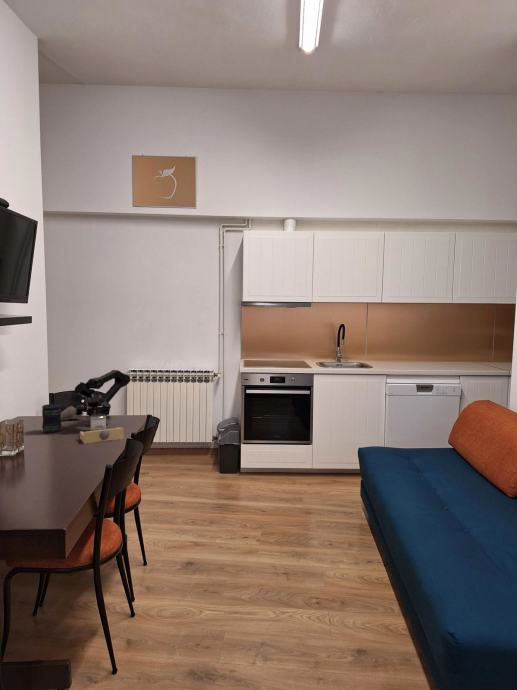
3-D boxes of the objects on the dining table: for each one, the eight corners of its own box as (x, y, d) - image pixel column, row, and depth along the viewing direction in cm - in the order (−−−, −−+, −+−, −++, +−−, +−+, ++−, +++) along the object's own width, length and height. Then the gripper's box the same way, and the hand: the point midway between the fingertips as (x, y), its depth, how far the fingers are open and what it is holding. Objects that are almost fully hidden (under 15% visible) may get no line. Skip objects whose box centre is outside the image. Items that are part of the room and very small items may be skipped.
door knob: (82, 434, 270) (82, 414, 269) (107, 431, 277) (107, 412, 276) (87, 440, 258) (87, 420, 257) (114, 437, 265) (114, 417, 264)
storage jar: (56, 434, 267) (56, 407, 266) (39, 434, 268) (38, 407, 266) (64, 429, 277) (63, 404, 276) (47, 429, 278) (46, 403, 276)
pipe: (66, 434, 298) (86, 418, 306) (63, 426, 292) (84, 411, 300) (50, 418, 304) (70, 403, 312) (47, 410, 297) (67, 395, 305)
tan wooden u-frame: (80, 438, 259) (79, 428, 259) (118, 434, 270) (118, 423, 270) (84, 444, 250) (84, 432, 250) (123, 439, 261) (123, 428, 260)
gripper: (75, 391, 269) (79, 415, 261) (109, 389, 279) (114, 412, 270) (73, 403, 277) (77, 426, 268) (106, 400, 286) (111, 422, 278)
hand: (95, 421), depth 271 cm, fingers closed
